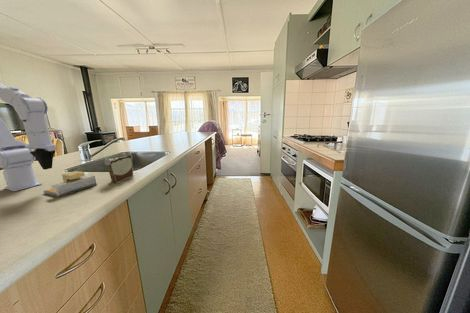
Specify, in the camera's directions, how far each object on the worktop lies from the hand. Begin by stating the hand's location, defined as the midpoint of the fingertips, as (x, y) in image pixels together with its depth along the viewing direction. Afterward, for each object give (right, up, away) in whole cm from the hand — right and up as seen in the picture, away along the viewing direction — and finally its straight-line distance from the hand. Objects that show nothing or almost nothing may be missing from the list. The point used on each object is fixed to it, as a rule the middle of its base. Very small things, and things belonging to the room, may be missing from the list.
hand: (47, 168), depth 68 cm
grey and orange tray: (+8, -8, +1) cm, 11 cm away
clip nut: (+10, -7, +1) cm, 12 cm away
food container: (+20, -5, +11) cm, 23 cm away
